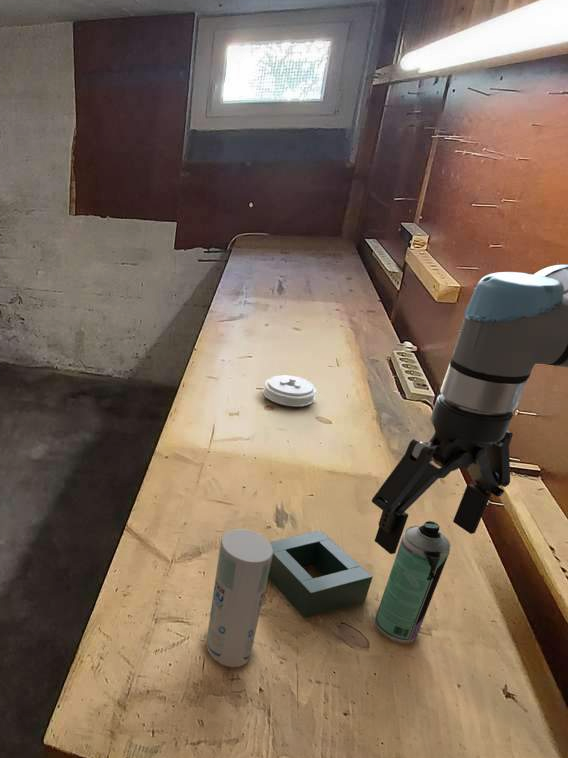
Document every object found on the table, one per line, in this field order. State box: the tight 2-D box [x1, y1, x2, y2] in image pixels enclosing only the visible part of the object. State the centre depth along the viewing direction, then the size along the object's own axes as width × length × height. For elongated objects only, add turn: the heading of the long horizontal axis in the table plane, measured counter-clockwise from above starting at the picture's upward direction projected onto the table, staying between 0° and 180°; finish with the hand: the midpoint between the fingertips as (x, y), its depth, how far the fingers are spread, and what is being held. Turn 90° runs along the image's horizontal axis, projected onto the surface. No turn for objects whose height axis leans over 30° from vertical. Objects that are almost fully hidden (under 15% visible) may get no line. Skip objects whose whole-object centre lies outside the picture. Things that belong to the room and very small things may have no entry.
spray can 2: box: [374, 520, 451, 644], centre depth 81 cm, size 6×6×20 cm
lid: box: [263, 374, 317, 407], centre depth 151 cm, size 13×13×5 cm
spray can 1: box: [206, 528, 273, 668], centre depth 79 cm, size 6×6×20 cm
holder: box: [268, 529, 374, 620], centre depth 92 cm, size 11×11×6 cm
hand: (424, 537), depth 77 cm, fingers open, 13 cm apart
